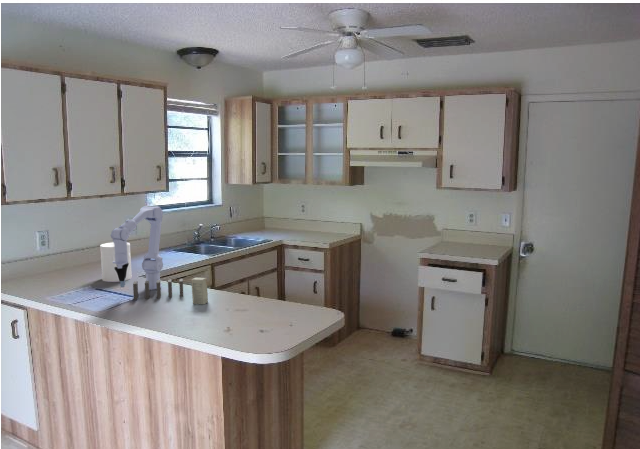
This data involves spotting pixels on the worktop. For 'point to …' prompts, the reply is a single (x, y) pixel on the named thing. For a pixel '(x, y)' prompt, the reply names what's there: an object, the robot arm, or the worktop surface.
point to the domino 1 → (122, 283)
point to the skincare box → (199, 290)
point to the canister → (108, 265)
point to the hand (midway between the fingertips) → (122, 279)
